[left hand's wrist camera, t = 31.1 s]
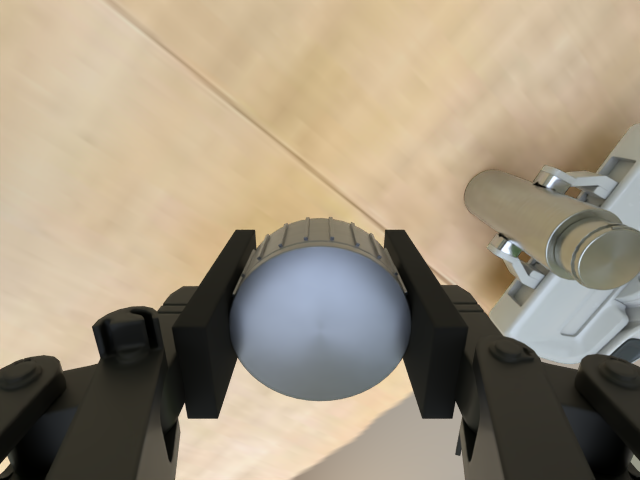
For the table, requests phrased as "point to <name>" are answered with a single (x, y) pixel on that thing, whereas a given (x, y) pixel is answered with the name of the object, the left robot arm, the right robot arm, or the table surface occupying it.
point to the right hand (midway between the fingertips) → (517, 210)
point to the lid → (320, 311)
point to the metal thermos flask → (557, 229)
